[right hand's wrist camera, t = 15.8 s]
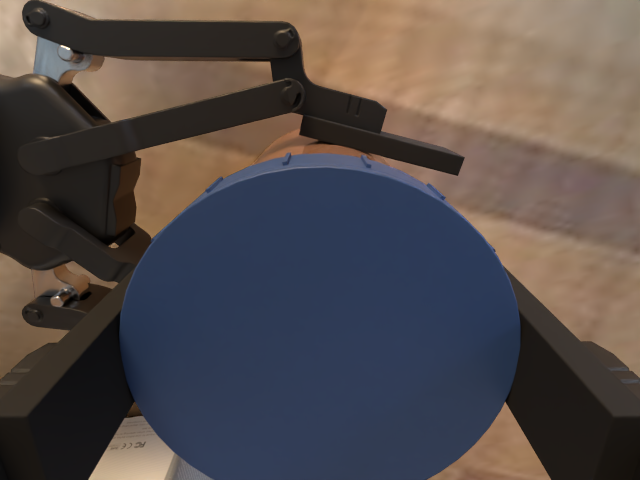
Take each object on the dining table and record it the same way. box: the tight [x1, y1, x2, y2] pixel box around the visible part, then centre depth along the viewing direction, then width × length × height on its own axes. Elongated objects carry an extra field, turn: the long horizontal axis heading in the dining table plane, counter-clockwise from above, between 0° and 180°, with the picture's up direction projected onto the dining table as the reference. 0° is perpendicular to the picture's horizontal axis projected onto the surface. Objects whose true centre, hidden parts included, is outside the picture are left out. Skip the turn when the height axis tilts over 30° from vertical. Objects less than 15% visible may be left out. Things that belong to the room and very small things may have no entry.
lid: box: [119, 152, 521, 480], centre depth 11 cm, size 10×10×2 cm
